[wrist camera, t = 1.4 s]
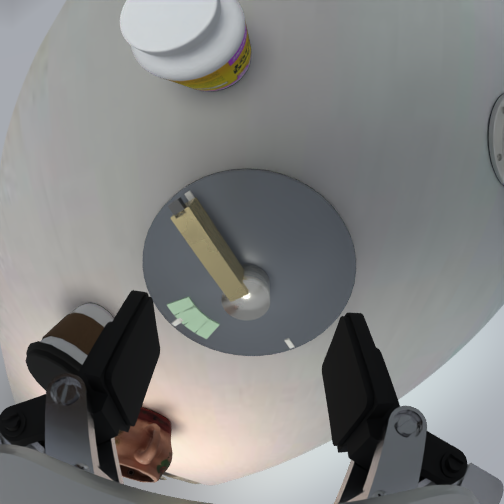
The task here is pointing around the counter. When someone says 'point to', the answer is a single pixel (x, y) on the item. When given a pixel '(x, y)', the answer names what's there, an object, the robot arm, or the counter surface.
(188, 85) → the supplement bottle
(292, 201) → the dial
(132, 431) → the decorative planter
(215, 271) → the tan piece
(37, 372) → the coffee cup
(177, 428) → the counter surface
